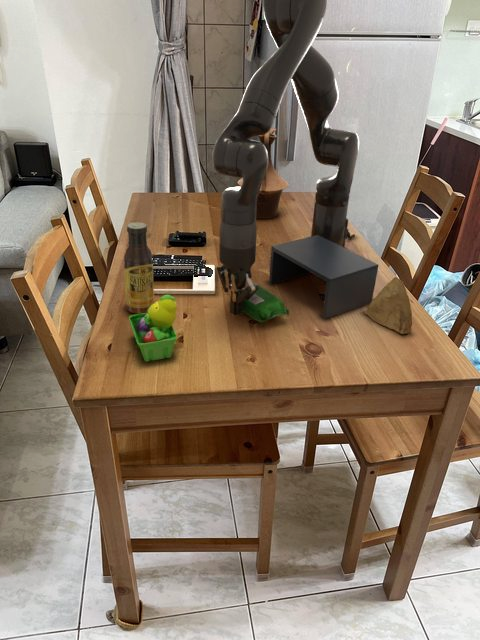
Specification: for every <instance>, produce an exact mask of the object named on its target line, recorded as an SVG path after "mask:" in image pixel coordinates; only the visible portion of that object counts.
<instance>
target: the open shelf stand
mask: <svg viewBox="0 0 480 640" xmlns="http://www.w3.org/2000/svg"><path fill="white" fill-rule="evenodd" d="M270 249H271V250H270V261H269V275H268V276H269V277H268V283H269V284H270V285H274V284H278V283H280V282H285V281H287V280H291V279H294V278H297V277H300V276H301V277H302V276H304V275H308V274H312V275H313V276H316V277H318V278H320V279H322V281H324V282H326V283H325V284H326V285H325V292H324V301H323V308H322V316H321V317H322V318H323V319H324V320H327V319H329V318H332V317H335V316H338V315H341V314H343V313H346V312H349V311H351V310H355V309H357V308H360V307H363V306H366V305H368V304H369V305H370V303H371V302H372V300H373V299H374V298H373V297H374V292H375V286H376V281H377V276H378V270H379V263H377V262H374V261H372V260H370V259H368V258H366V257H364V256H362V255H360V254H358V253H356V252H354V251H352V250H350V249H348V248H346V247H341V246H339V245H337V244H335V243H333V242H331V241H329V240H327V239H325V238H323V237H321V236H319V235H315V236H311V235H310V236H308V237H304V238H299V239H295V240H291V241H287V242H283V243H279V244H275V245H271V248H270Z"/></svg>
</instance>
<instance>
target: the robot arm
mask: <svg viewBox="0 0 480 640" xmlns="http://www.w3.org/2000/svg"><path fill="white" fill-rule="evenodd" d="M327 5H328V0H262V7H263V8H262V9H263V16H264V21H265V23H266V27H267V28H268V31H269V33H270V36H271V37H272V39H273V41H274V44H275V45H276V48H277V50H276V51H275V52H274V53H273V54H272V55H271V56H270V57H269V58H268V59H267V60H265V62H264V63H263V64H262V65H261V66H260V67H259V69H258V70H256V72H255V73H254V74H253V76H252V77H251V79H250V81H249V83H248V84H247V86H246V88H245V91H244V94H243V96H242V99H241V102H240V105H239V107H238V110H237V112H236V113H235V115H234V116H233V117H232V119H231V120H230V121H229V123H228V124H227V125H226V127H225V128H224V129H223V131H222V132H221V134H220V135H219V137H218V138H217V140H216V142H215V144H214V146H213V149H212V153H211V161H212V166H213V168H214V170H215V171H216V172H217V173H218V174H220V175H222V176H228V177H233V178H238V179H242V178H243V182H242V185H241V186H234V187H228V188H226V189H224V190H223V192H222V193H221V199H220V223H219V224H220V226H219V241H218V242H219V243H218V244H219V247H218V248H219V253H218V255H219V256H218V258H219V259H218V260H219V262H220V264H221V265H219V266H217V267H216V271H217V275H218V277H219V280H220V283H221V286H222V290H223V291H224V293H225V294H227V293H228V295H227V297H228V299H229V313H230V314H231V315H233V316H234V317H236V316H239V315H242V313H243V311H242V304H243V301H247V300H249V299H250V298H251V297H252V296H253V295H254V293H255V292H256V291H257V290H258V285H259V284H258V283H256V284H255V285H253V283H254V282H253V281H252V276H253V274H252V270H251V269H252V267H253V265H254V264H255V263H256V257H257V256H256V255H257V235H258V233H257V232H258V229H257V228H258V227H257V218H256V210H257V199H258V195H259V191H260V188H261V184H262V181H263V178H264V175H265V173H266V170H267V166H268V152H267V149H266V147H265V146H264V145H263V144H262V143H261V142H260V140H259V141H258V140H253V139H251V138H253V137H258V136H259V135H264V134H267V133H268V132H269V131H270V130H271V128H273V125H274V123H275V120H276V117H277V114H278V113H279V109H280V107H281V104H282V101H283V99H284V96H285V94H286V93H287V92H286V91H287V89H288V87H289V85H290V83H292V86H293V89H294V93H295V95H296V98H297V101H298V104H299V106H300V108H301V111H302V113H303V117H304V120H305V123H306V127H307V129H308V133H309V139H310V143H311V148H312V153H313V155H314V156H313V157H314V158H315V160H316V161H317V163H319V164H320V165H324V166H328V167H334V168H337V171H336V174H333V175H329V176H324V177H321V178H319V179H318V180H317V181H316V188H315V195H314V205H313V215H312V216H313V217H312V224H311V232H310V237H311V236H315V235H319V236H321V237H323V238H325V239H327V240H329V241H331V242H333V243H335V244H337V245H339V246H341V247H344V248H346V247H345V246H346V240H347V239H349V240H351V239H353V238H355V237H356V234H352V235H351V232H349V228H348V226H349V218H348V217H347V215H348V208H349V202H350V196H351V195H350V194H351V189H352V185H353V180H354V175H355V170H356V169H355V168H356V164H357V160H358V156H359V155H358V154H359V149H360V138H359V135H358V133H357V132H354V131H349V130H344V129H336V128H332V127H331V126H330V125H329V122H328V120H329V118H330V116H331V115H332V113H333V112H334V110H335V109H336V106H337V104H338V101H339V88H338V83H337V79H336V76H335V72H334V70H333V67H332V66H331V64H330V63H329V61H328V60H327V59H326V58H325V57H324V56H323V55H322V54H321V53H320V52H319V51H318V50H317V49H316V48H315V47H314V46H313V45H312V44H313V42H314V40H315V39H316V37H317V35H318V33H319V32H320V29H321V27H322V24H323V23H324V19H325V15H326V12H327ZM270 132H271V131H270ZM252 282H253V283H252ZM257 284H258V285H257Z"/></svg>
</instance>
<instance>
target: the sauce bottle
mask: <svg viewBox="0 0 480 640" xmlns="http://www.w3.org/2000/svg"><path fill="white" fill-rule="evenodd" d="M126 232H127V233H128V246H127V248H126V249H125V253H124V255H123V263H124V264H123V265H124V266H123V271H124V272H123V273H124V291H125V304H126V309H127V311H128V312H129V313H132V314H142V313H148V309H149V307H150V306H151V305H152V304H154V303H155V294H154V289H155V288H154V269H153V264H154V262H153V254H152V250H151V249H150V247H149V246H148V242H147V232H148V226H147V224H146V223H144V222H140V221H138V222H136V221H135V222H130V223H128V224H127V225H126Z"/></svg>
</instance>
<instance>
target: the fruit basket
mask: <svg viewBox="0 0 480 640" xmlns="http://www.w3.org/2000/svg"><path fill="white" fill-rule="evenodd" d="M177 308H178V304H177V301H176V300H175V297H174V296H172V294H163V295H162V296H161V297H160V299H159V300H157V301H154V303H153V304H152V305H151V306H150V307H149V309H148V312H147V313H142V314H136V313H134V314H131V315H129V317H128V319H129V322H130V326H131V329H132V332H133V336H134V338H135V341H136V344H137V346H138V347H139V349H140V352H141V354H142V355H141V356H142V358H143V360H144V362H150V361H158V360H164V359H170V358H171V357H172V355H173V351H174V346H175V343H176V341H177V338H178V335H177V333H176V331H175V328H174V326H173V325H174V323H175V320H176V316H177Z"/></svg>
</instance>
